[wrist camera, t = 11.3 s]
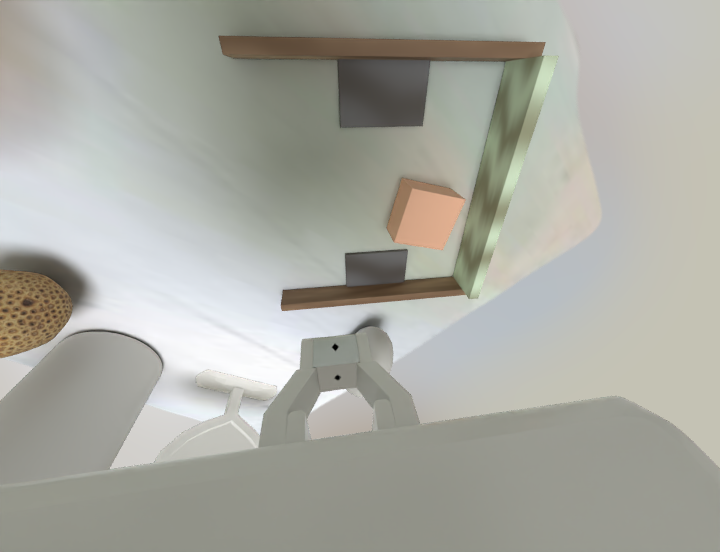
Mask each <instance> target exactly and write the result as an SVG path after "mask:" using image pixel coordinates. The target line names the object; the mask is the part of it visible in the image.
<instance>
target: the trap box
mask: <svg viewBox="0 0 720 552" xmlns="http://www.w3.org/2000/svg"><path fill="white" fill-rule="evenodd" d="M219 40H220V44H221V48H222V53H223V55H226V56H229V57H231V58H242V59H330V60H338V73H339V100H340V126H341V127H397V126H423V118H424V110H425V101H426V93H427V85H428V76H429V68H430V61H505V62H506V64H505V68H504V72H503V76H502V80H501V84H500V88H499V92H498V96H497V100H496V104H495V108H494V112H493V116H492V120H491V124H490V128H489V132H488V136H487V141H486V145H485V149H484V153H483V157H482V161H481V165H480V169H479V173H478V177H477V181H476V185H475V189H474V193H473V197H472V201H471V205H470V209H469V213H468V217H467V222H466V226H465V230H464V234H463V238H462V242H461V246H460V250H459V254H458V258H457V262H456V266H455V270H454V274H453V277H442V278H430V279H418V280H405V281H404V279H405V270H406V262H407V253H408V250H407V249H406V250H392V251H377V252H362V253H347V254H345V258H346V285H343V286H331V287H319V288H306V289H294V290H283V294H282V300H281V309H282V311H289V310H300V309H311V308H323V307H334V306H345V305H356V304H368V303H379V302H390V301H401V300H413V299H424V298H435V297H446V296H458V295H467V297H468V298H469V299H475V298H478V297H479V294H480V291H481V288H482V285H483V282H484V279H485V276H486V273H487V270H488V267H489V264H490V261H491V258H492V255H493V252H494V249H495V246H496V243H497V240H498V237H499V234H500V231H501V228H502V225H503V222H504V219H505V216H506V213H507V210H508V207H509V204H510V201H511V198H512V195H513V192H514V189H515V186H516V183H517V180H518V177H519V174H520V171H521V168H522V165H523V162H524V159H525V156H526V153H527V150H528V147H529V144H530V141H531V138H532V135H533V132H534V129H535V126H536V123H537V120H538V117H539V114H540V111H541V108H542V105H543V102H544V99H545V96H546V93H547V90H548V87H549V84H550V81H551V78H552V75H553V72H554V69H555V66H556V63H557V60H558V57H559V56H542V53H543V49H544V46H545V43H546V42H504V41H454V40H405V39H355V38H305V37H256V36H219Z"/></svg>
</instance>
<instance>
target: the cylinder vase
mask: <svg viewBox="0 0 720 552" xmlns="http://www.w3.org/2000/svg"><path fill="white" fill-rule="evenodd" d="M161 373H162V363H161V360H160V358H159V356H158V355H157V354H156V353H155V352H154V351H153V350H152V349H151V348H150V347H148V346H147V345H145V344H144V343H142V342H140V341H138V340H136V339H133V338H131V337H128V336H125V335H121V334H117V333H111V332H84V333H79V334H75V335H72V336H70V337H68V338H66V339H64V340H62V341H61V342H60V343H59V344H58V345H57V346H56V347H55V348H54V349H53V350H52V351H50V352H49V353H48V354H47V355H46V356H45V357H44V358H43V359H42V360H41V361H40V362H39V363H38V364H37V365H36V366H35V367H34V368H33V369H32V370H31V371H30V372H29V373H28V374H27V375H26V376H25V377H24V378H23V379H22V380H21V381H20V382H19V383H18V384H17V385H16V386H15V387H14V388H13V389H12V390H11V391H10V392H9V393H8V394H7V395H6V396H5V397H4V398H3V399H2V400H1V401H0V485H4V484H11V483H18V482H25V481H32V480H39V479H46V478H53V477H60V476H67V475H74V474H81V473H88V472H95V471H101V470H108V469H110V467H111V465H112V463H113V461H114V459H115V458H116V456H117V454H118V452H119V450H120V449H121V447H122V445H123V443H124V441H125V439H126V438H127V436H128V434H129V432H130V430H131V428H132V427H133V425H134V423H135V421H136V419H137V417H138V415H139V414H140V412H141V410H142V408H143V407H144V405H145V403H146V401H147V399H148V397H149V396H150V394H151V392H152V390H153V388H154V387H155V385H156V383H157V381H158V379H159V377H160V376H161Z"/></svg>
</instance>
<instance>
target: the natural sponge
mask: <svg viewBox="0 0 720 552" xmlns="http://www.w3.org/2000/svg"><path fill="white" fill-rule="evenodd" d="M72 307H73V305H72V301H71V298H70V296H69V295H68V293H67V292H66V291H65V290H64V289H63V288H62V287H61V286H60V285H58V284H57V283H56V282H55V281H53V280H52V279H50V278H49V277H47V276H45V275H42V274H39V273H33V272H26V271H13V270H0V358H3V357H8V356H12V355H15V354H19V353H22V352H25V351H28V350H31V349H33V348H36V347H39V346H41V345H43V344H45V343H47V342H49V341H50V340H52V339H53V338H54V337H55V336H56V335H57V334H58V333H59V332H60V331H61V330H62V328H63V327H64V326H65V325H66V323H67V322H68V320H69V318H70V316H71V313H72Z"/></svg>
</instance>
